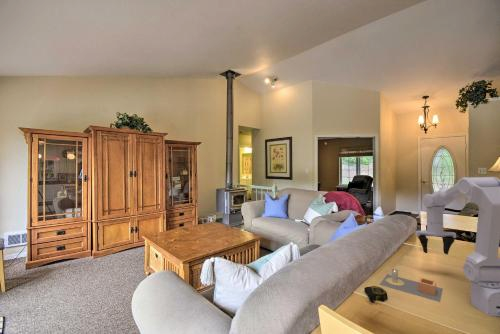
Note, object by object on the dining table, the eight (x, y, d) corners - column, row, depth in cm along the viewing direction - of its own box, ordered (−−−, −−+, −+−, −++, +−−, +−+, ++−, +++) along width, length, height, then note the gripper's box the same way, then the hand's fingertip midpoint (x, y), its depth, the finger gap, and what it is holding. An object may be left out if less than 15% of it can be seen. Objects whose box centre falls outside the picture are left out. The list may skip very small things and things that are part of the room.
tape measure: (363, 294, 92) (363, 284, 92) (383, 295, 90) (383, 285, 90) (369, 304, 85) (369, 294, 85) (390, 306, 84) (390, 295, 84)
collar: (436, 290, 91) (436, 281, 91) (434, 296, 87) (434, 286, 87) (420, 286, 94) (420, 277, 94) (418, 291, 90) (417, 282, 90)
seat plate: (443, 291, 92) (442, 287, 92) (440, 305, 83) (439, 301, 83) (387, 276, 105) (387, 273, 105) (379, 287, 96) (379, 283, 96)
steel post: (399, 286, 96) (398, 271, 96) (393, 286, 97) (392, 271, 97) (396, 284, 99) (396, 269, 99) (390, 283, 99) (390, 269, 99)
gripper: (449, 220, 107) (450, 251, 107) (412, 219, 111) (412, 248, 111) (458, 224, 100) (459, 256, 100) (418, 222, 104) (419, 254, 104)
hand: (435, 253), depth 105 cm, fingers open, 7 cm apart
